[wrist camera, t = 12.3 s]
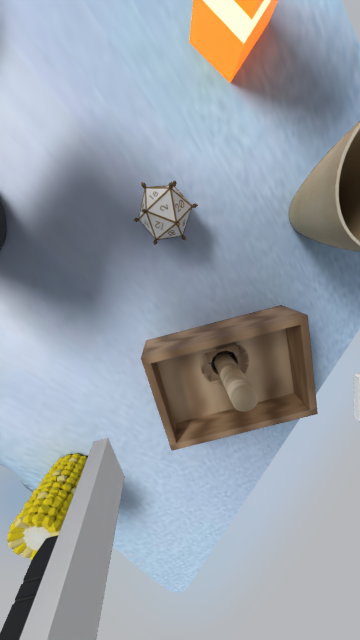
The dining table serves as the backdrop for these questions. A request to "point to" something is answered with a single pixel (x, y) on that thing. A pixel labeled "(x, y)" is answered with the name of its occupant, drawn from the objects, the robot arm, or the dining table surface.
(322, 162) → the plant pot
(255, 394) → the peg
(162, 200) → the game die
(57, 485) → the food
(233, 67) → the orange juice
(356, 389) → the robot arm
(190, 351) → the box
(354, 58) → the dining table surface
